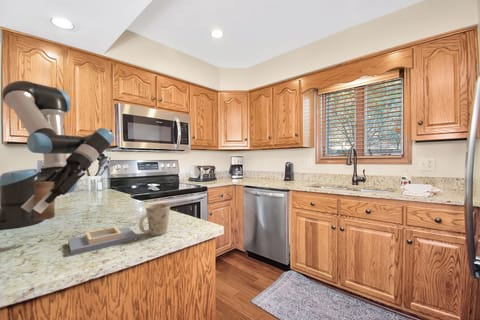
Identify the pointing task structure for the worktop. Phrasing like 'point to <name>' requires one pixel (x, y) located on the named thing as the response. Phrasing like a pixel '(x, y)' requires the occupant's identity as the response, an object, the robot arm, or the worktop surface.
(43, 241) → the worktop surface
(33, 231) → the worktop surface
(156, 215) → the mug
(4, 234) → the worktop surface
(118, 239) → the board
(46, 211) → the post
